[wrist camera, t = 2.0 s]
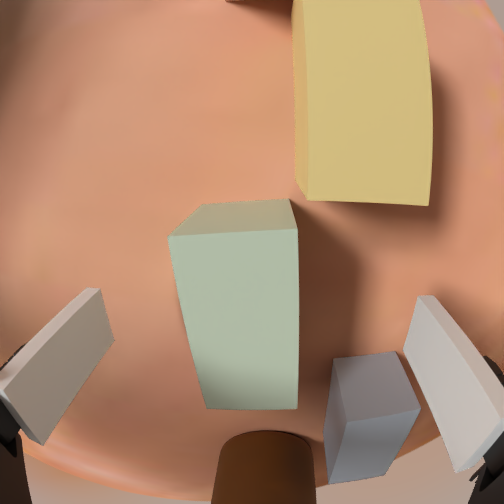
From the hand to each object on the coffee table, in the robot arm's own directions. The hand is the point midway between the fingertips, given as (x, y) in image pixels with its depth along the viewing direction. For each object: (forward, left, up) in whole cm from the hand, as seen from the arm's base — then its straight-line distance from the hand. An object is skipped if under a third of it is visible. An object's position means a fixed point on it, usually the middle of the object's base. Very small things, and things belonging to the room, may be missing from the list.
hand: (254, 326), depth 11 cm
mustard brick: (+4, +9, -4) cm, 11 cm away
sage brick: (0, 0, -4) cm, 4 cm away
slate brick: (+7, -9, -4) cm, 12 cm away
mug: (0, -18, -4) cm, 18 cm away
